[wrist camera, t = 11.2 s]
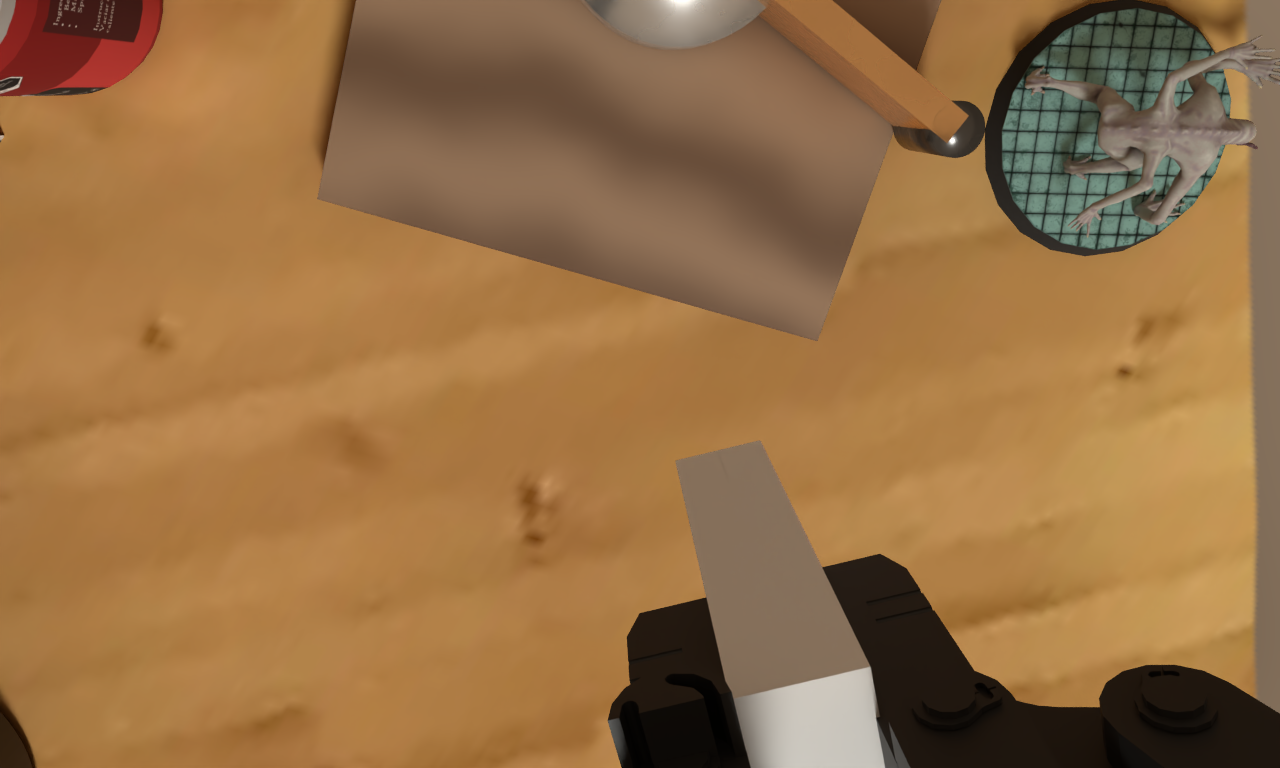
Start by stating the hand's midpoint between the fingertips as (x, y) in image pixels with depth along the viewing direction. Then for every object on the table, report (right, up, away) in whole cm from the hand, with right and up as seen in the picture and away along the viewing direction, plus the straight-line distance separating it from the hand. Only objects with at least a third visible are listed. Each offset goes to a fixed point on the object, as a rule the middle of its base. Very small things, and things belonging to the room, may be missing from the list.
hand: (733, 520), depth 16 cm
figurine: (+19, +14, +25) cm, 34 cm away
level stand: (-1, +19, +22) cm, 29 cm away
